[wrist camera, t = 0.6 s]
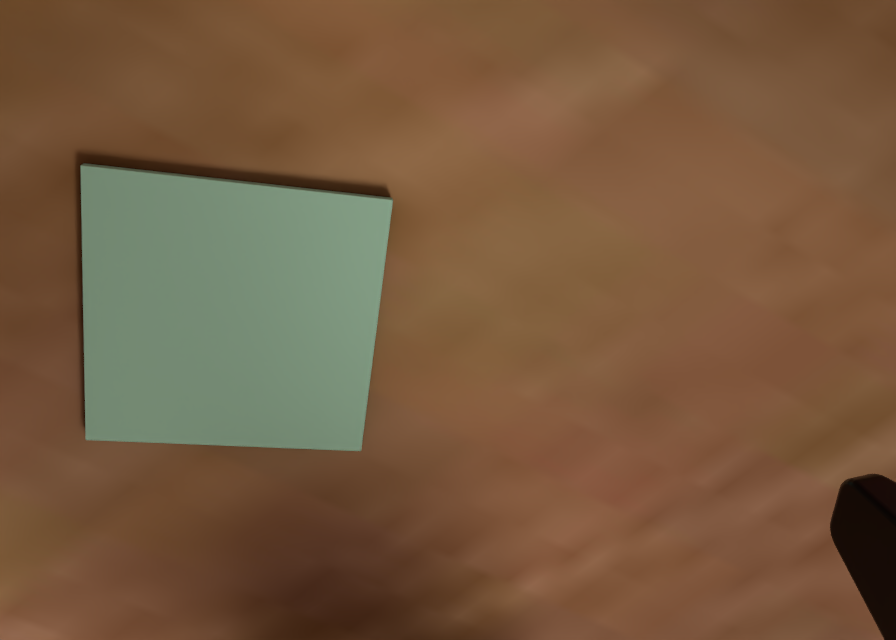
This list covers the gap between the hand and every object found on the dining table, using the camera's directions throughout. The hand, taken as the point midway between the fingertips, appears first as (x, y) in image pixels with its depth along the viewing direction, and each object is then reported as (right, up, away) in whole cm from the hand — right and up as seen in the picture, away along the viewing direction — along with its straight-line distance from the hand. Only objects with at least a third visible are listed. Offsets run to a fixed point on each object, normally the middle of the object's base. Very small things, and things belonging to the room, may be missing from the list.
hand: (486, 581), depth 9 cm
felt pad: (-7, +3, +13) cm, 15 cm away
